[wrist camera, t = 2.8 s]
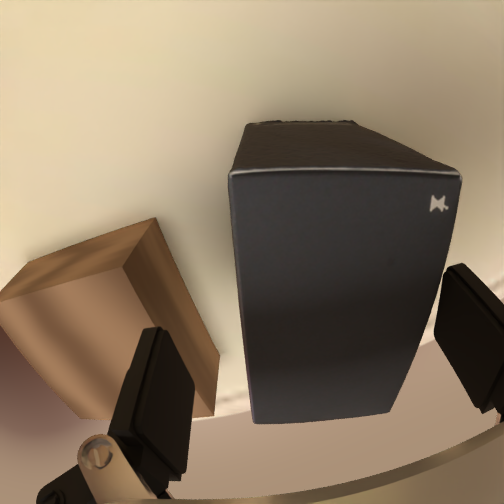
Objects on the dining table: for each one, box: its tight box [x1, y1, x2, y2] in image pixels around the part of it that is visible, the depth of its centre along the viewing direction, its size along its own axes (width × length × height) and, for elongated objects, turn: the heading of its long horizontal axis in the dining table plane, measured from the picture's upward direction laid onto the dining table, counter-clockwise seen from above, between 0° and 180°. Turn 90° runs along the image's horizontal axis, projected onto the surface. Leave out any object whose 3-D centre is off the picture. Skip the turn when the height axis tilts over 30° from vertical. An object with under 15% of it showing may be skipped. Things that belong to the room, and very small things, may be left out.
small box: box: [228, 120, 462, 424], centre depth 14 cm, size 11×6×10 cm, turn 3°
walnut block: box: [0, 218, 220, 420], centre depth 19 cm, size 12×12×6 cm
